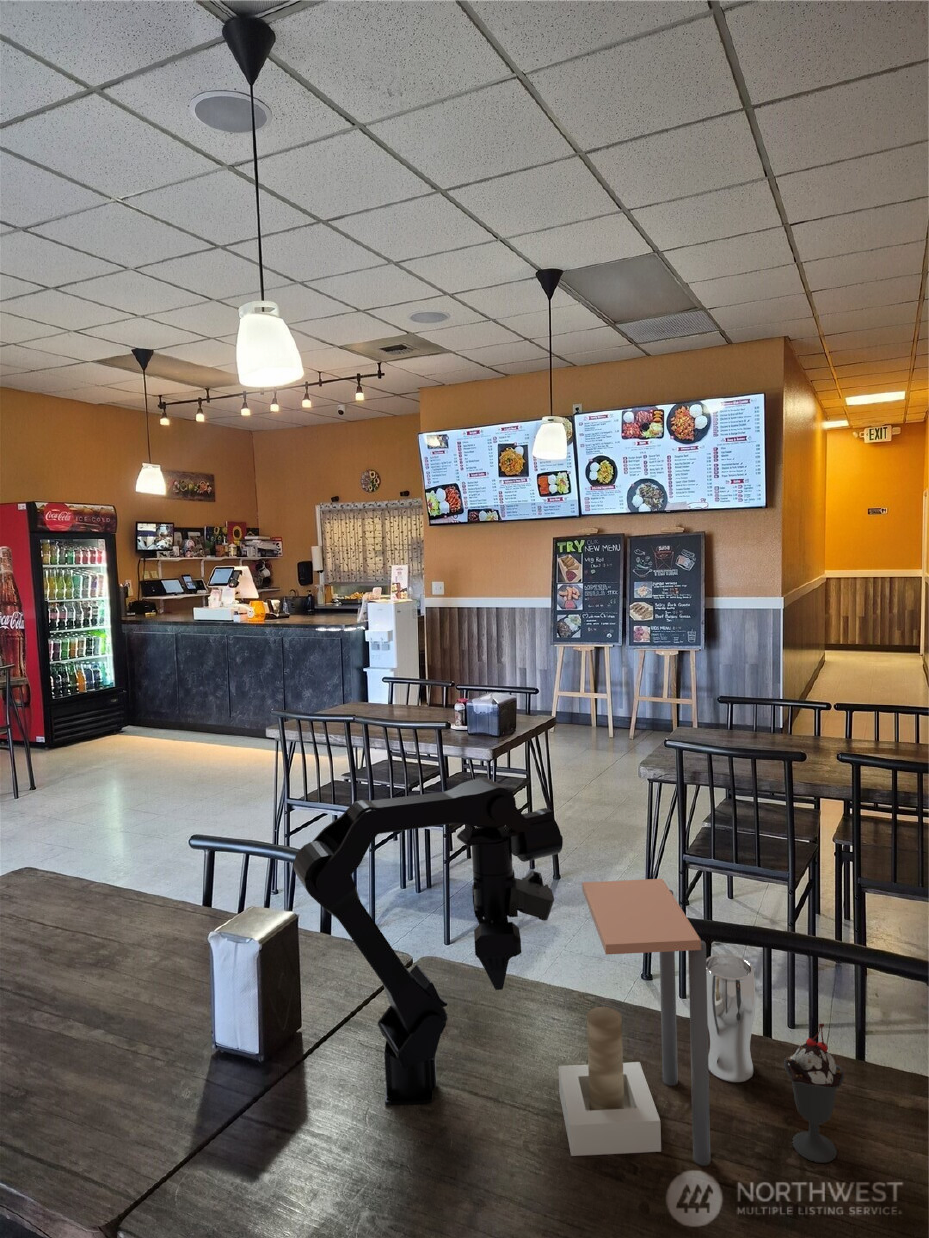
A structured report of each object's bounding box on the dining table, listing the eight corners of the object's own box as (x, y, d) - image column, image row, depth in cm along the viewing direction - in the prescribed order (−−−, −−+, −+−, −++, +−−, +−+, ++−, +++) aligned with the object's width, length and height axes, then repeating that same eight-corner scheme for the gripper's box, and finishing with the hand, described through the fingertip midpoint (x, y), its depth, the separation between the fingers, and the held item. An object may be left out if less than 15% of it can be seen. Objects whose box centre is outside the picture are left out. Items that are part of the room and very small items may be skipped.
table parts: (574, 1175, 92) (566, 946, 90) (556, 1078, 109) (549, 883, 107) (714, 1168, 93) (709, 939, 90) (674, 1072, 109) (669, 878, 107)
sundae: (840, 1132, 97) (839, 1017, 96) (847, 1173, 91) (847, 1051, 90) (783, 1122, 99) (781, 1009, 98) (786, 1161, 93) (785, 1042, 92)
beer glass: (760, 1087, 106) (759, 981, 105) (707, 1082, 107) (705, 977, 106) (752, 1054, 113) (750, 954, 111) (702, 1050, 114) (700, 951, 113)
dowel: (586, 1120, 100) (583, 1022, 99) (593, 1098, 104) (591, 1004, 103) (620, 1129, 98) (618, 1029, 97) (627, 1105, 102) (624, 1010, 101)
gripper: (556, 893, 103) (561, 1005, 104) (541, 840, 122) (545, 937, 123) (472, 897, 103) (477, 1010, 104) (470, 844, 122) (474, 940, 123)
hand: (497, 971), depth 114 cm, fingers open, 9 cm apart
